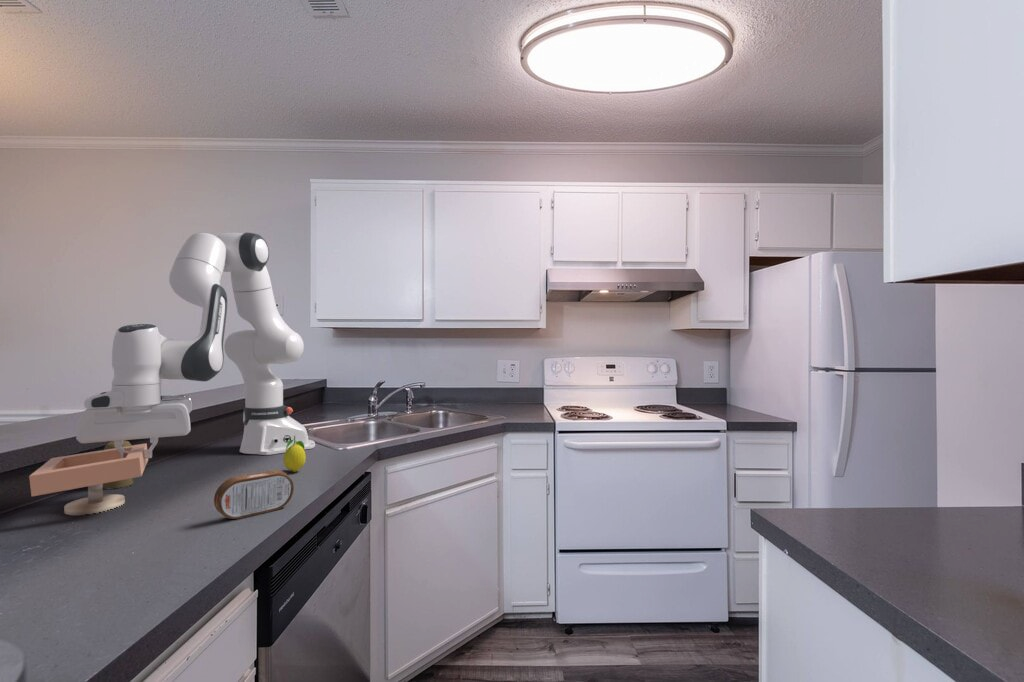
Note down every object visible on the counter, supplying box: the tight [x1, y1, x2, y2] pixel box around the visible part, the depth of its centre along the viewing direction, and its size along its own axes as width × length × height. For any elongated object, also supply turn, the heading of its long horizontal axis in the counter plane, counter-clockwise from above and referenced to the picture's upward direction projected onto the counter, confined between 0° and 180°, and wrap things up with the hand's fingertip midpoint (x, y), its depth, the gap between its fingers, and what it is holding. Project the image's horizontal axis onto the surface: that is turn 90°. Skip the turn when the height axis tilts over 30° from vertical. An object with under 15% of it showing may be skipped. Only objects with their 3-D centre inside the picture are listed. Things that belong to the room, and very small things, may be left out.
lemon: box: [283, 435, 307, 473], centre depth 136 cm, size 7×6×10 cm
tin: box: [213, 469, 295, 520], centre depth 104 cm, size 15×3×8 cm, turn 134°
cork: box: [103, 440, 134, 489], centre depth 123 cm, size 6×6×11 cm
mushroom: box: [63, 484, 126, 516], centre depth 107 cm, size 10×10×7 cm
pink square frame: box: [28, 442, 149, 497], centre depth 107 cm, size 17×17×4 cm
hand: (136, 459), depth 111 cm, fingers closed on pink square frame, 3 cm apart
